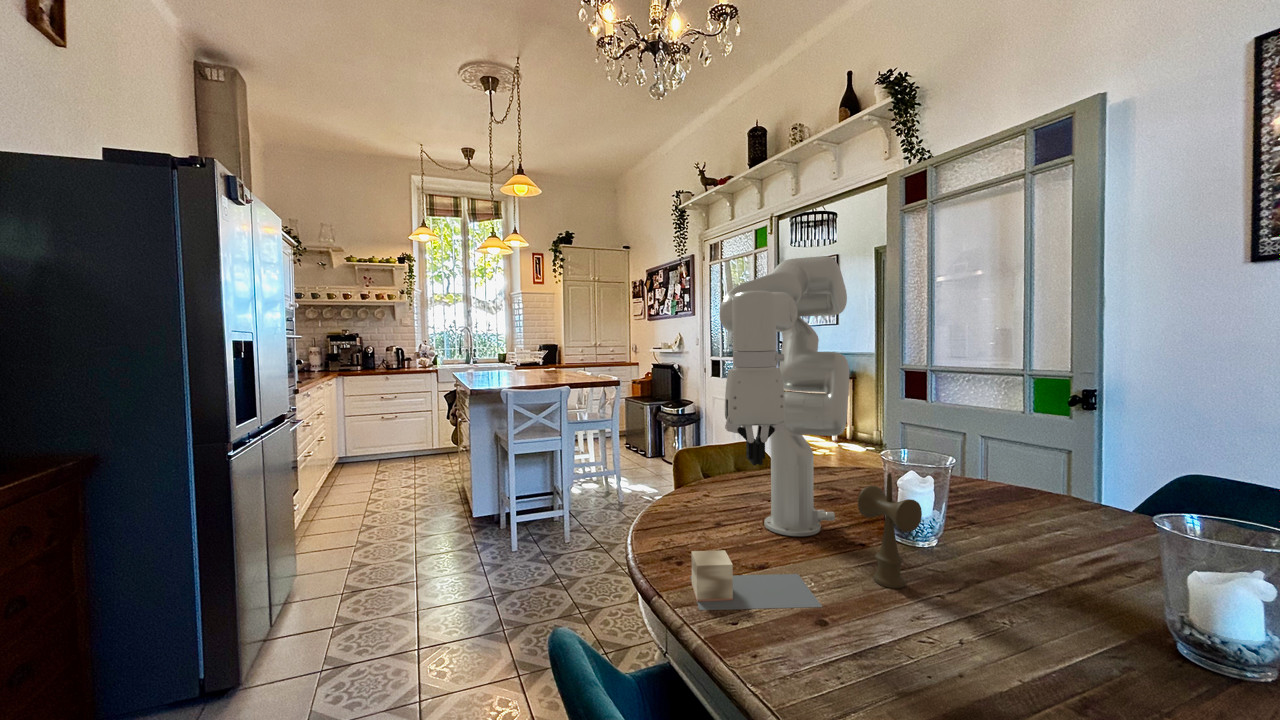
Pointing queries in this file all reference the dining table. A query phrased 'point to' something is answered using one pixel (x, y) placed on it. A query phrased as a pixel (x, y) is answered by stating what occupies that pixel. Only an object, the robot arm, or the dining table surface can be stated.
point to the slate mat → (765, 593)
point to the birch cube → (712, 575)
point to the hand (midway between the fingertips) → (755, 463)
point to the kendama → (889, 529)
